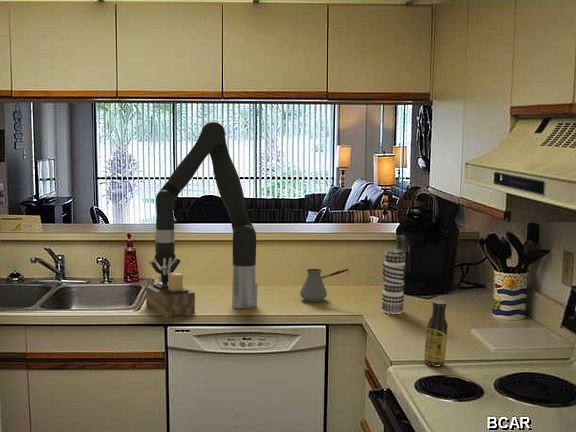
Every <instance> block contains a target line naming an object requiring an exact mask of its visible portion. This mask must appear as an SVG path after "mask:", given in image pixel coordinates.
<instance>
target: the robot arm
mask: <svg viewBox="0 0 576 432" xmlns="http://www.w3.org/2000/svg"><path fill="white" fill-rule="evenodd" d="M229 153H230V152H229V149H228V145H227V140H226V131H225V127H224V126H223V125H222V124H221V123H219V122H217V121H209V122H207V123H205V124H204V125H203V127H202V128H201V132H200V134H199V136H198V137H197V140H196V141H195V144H194V145H193V147H192V148H191V149H190V151H189V152H188V153H187V154H186V156H185V157H184V158H183V159H182V161H181V162H179V164H178V165H177V167H176V168H175V169H174V170H173V172H172V173H171V175H170V176H169V179H168V180H167V182H165V184H163V186H162V187H161V189H160V190H159V191H158V192H157V194H156V197H155V210H156V211H155V212H156V219H155V225H156V226H155V236H154V237H155V238H154V241H155V242H154V243H155V244H154V245H155V247H154V249H155V255H154V259H153V260H150V261H149V262H148V263H149V265H150V266H151V268H152V269H154V271H155V272H156V274H158V275H159V274H161V282H162V283H163V284H168V274H170V273H171V272H172V273H175V271H176V269H177V267H178V266H179V264H180V263H181V259H180V258H177V257H176V256H177V255H176V253H175V251H176V250H175V248H176V247H175V246H176V237H175V236H176V235H175V234H176V232H175V217H174V209H175V207H174V206H175V200H176V199H177V197H178V196H179V195H180V193H181V192H182V190H184V189H185V188H186V187H187V185H188V184H189V183H190V181H191V180H192V179H193V177H194V176H195V174H196V173H197V171H198V170H199V168H200V166H201V164H202V163H203V162H204V161H205V159H206V158H207V156H210V159H211V164H212V169H213V170H212V171H213V175H214V176H213V177H214V181H215V183H216V186H217V192H218V193H219V196H220V199H221V201H222V203H223V205H224V207H225V210H226V211H227V213H228V216H229V219H230V225H231V229H232V273H231V274H232V283H231V284H232V285H231V286H232V288H231V291H232V292H231V294H232V295H231V302H232V303H231V307H233V308H234V309H240V310H241V309H242V310H249V309H252V308H255V307H258V282H256V273H257V272H256V269H257V268H256V266H257V263H256V262H257V233H256V232H257V231H256V229H255V228H254V225H253V223H252V221H251V218H250V216H249V214H248V213H249V212H248V210H247V207H246V201H245V195H244V191H243V186H242V184H241V180H240V176H239V175H238V172H237V168H236V167H235V164H234V162H233V159H232V158H231V156H230V154H229Z"/></svg>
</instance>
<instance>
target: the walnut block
mask: <svg viewBox="0 0 576 432" xmlns="http://www.w3.org/2000/svg"><path fill="white" fill-rule="evenodd" d="M158 283H159V282H158ZM158 283H157V282H156V283H152V285H150V286H145V293H146V294H145V299H146V300H145V303H146V304H145V306H147V308H149V309H150V310H152V311H154V312H155V313H157V314H160V315H161V316H163V317H166V318H170V317H176V316H182V315H183V316H184V315H189V314H190V315H191V314H195V313H196V292H195V291H193V290H191V289H189V288H185V287H183V290H180V291H170V290H168V286H164V287H162V286H160V285H158Z"/></svg>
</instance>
